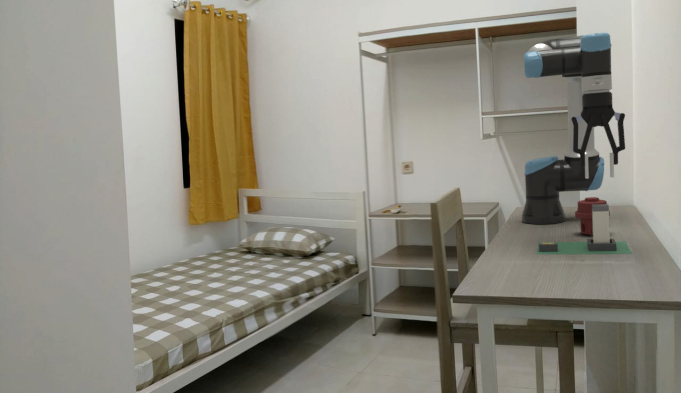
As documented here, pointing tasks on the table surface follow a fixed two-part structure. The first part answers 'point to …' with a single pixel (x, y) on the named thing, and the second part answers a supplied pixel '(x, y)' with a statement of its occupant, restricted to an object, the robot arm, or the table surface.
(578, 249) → the board
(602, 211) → the plug
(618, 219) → the table surface
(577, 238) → the table surface
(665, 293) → the table surface
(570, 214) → the table surface
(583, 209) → the mechanical component
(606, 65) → the robot arm
